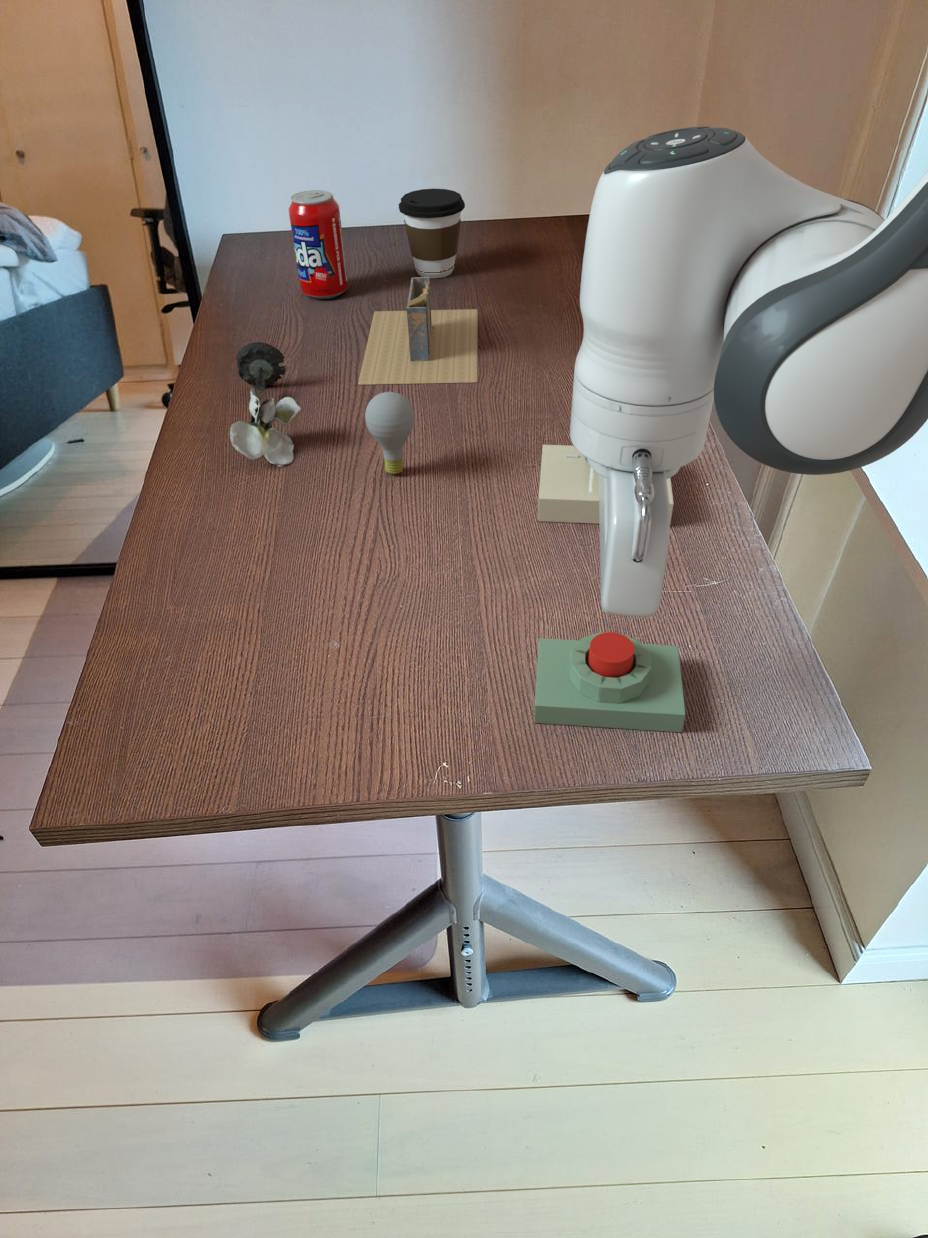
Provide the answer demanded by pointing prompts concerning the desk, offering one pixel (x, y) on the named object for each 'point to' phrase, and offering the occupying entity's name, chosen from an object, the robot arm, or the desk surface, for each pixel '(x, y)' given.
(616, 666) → the button
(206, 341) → the desk surface
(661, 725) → the box
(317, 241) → the soda can
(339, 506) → the desk surface
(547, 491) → the stove panel
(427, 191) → the coffee cup
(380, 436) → the light bulb
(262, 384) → the artificial flower
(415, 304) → the ruin model on sheet
